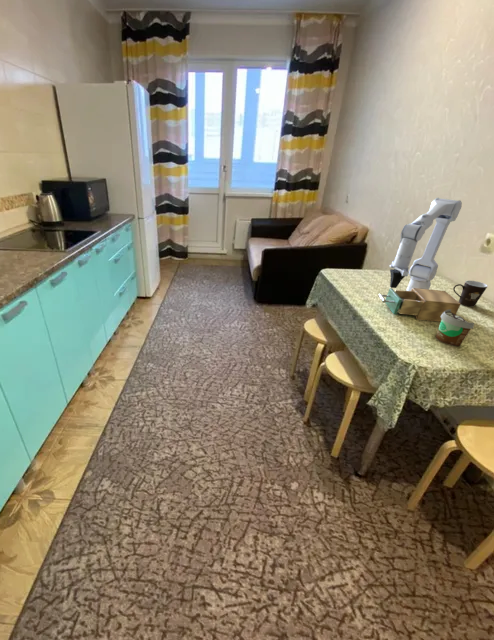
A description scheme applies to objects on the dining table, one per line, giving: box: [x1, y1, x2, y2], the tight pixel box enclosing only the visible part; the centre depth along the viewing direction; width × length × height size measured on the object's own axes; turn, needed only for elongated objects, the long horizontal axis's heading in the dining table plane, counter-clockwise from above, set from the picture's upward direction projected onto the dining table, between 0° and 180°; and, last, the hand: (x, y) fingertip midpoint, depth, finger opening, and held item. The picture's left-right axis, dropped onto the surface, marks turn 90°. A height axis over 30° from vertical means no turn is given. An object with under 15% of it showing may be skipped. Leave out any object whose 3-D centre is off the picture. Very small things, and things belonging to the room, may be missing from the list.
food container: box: [435, 309, 475, 347], centre depth 121 cm, size 12×6×10 cm, turn 5°
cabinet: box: [411, 288, 462, 323], centre depth 141 cm, size 14×15×9 cm
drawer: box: [377, 287, 424, 316], centre depth 143 cm, size 17×13×7 cm
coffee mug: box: [452, 280, 489, 308], centre depth 154 cm, size 12×9×10 cm
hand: (393, 287), depth 140 cm, fingers closed
